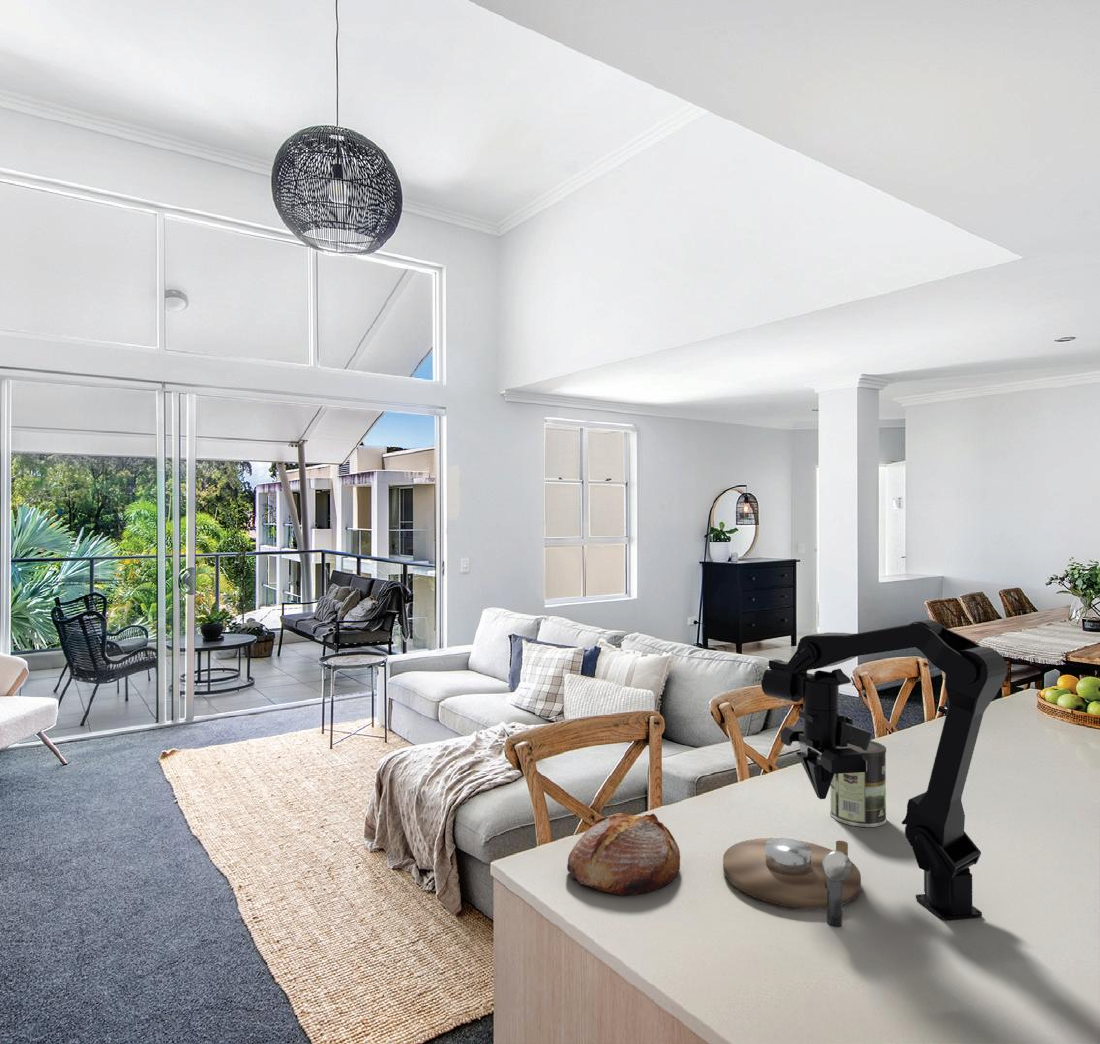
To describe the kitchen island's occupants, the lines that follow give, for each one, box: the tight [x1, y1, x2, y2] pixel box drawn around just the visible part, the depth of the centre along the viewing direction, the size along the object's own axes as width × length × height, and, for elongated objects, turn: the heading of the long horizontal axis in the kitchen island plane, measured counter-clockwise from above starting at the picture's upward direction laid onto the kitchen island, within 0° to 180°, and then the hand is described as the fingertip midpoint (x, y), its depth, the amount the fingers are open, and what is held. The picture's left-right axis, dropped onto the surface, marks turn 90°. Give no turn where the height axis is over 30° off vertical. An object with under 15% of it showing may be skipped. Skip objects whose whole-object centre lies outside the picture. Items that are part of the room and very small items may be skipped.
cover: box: [765, 837, 811, 876], centre depth 119 cm, size 7×7×3 cm
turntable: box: [722, 837, 862, 909], centre depth 119 cm, size 21×21×4 cm
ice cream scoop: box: [822, 850, 852, 928], centre depth 107 cm, size 3×4×10 cm
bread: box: [566, 812, 681, 896], centre depth 122 cm, size 16×20×10 cm
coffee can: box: [829, 740, 887, 828], centre depth 145 cm, size 10×10×14 cm
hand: (821, 798), depth 127 cm, fingers closed
